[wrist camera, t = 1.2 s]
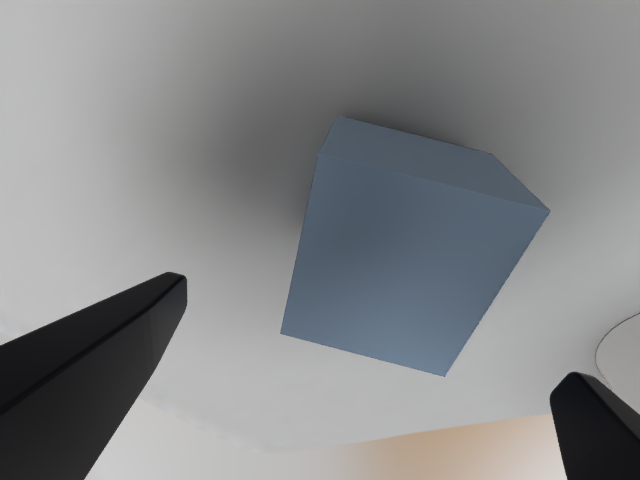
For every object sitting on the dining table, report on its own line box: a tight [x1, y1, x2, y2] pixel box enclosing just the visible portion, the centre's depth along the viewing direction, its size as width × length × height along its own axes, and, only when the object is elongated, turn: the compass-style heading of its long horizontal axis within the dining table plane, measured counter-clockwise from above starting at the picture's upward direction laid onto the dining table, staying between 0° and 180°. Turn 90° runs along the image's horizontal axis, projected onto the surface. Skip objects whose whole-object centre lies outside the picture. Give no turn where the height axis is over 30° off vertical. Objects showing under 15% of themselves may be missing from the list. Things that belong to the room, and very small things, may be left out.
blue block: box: [280, 115, 550, 377], centre depth 15 cm, size 6×8×8 cm
